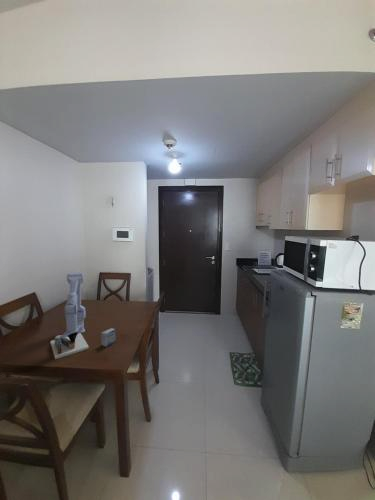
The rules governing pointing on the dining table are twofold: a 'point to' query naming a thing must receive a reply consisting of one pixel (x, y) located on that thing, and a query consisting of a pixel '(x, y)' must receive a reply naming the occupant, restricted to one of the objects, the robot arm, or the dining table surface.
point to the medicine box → (108, 337)
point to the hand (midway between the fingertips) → (72, 344)
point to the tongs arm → (66, 342)
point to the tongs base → (58, 345)
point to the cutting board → (79, 346)
